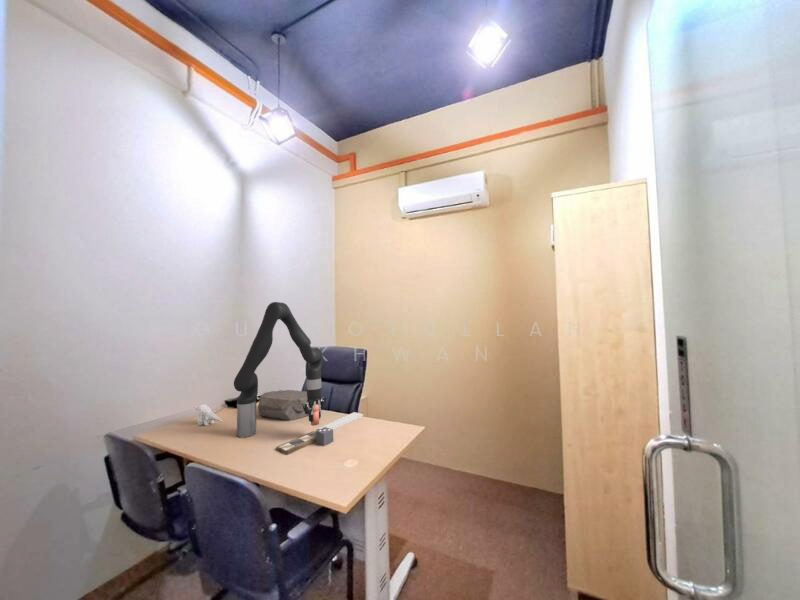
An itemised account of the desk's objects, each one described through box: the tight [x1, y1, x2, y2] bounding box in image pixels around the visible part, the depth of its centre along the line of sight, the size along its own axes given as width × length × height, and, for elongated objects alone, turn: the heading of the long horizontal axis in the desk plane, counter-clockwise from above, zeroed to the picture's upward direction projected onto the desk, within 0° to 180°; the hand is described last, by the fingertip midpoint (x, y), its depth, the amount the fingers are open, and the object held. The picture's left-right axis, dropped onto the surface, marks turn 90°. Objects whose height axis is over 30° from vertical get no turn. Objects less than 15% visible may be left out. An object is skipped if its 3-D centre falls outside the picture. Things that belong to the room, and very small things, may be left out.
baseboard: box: [315, 410, 364, 431], centre depth 178 cm, size 30×3×10 cm
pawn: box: [310, 404, 320, 426], centre depth 158 cm, size 5×5×11 cm
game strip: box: [276, 430, 317, 456], centre depth 151 cm, size 9×22×2 cm, turn 145°
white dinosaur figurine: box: [193, 403, 224, 427], centre depth 179 cm, size 7×24×11 cm, turn 70°
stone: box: [257, 389, 309, 421], centre depth 195 cm, size 37×26×15 cm
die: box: [315, 427, 334, 447], centre depth 151 cm, size 6×6×6 cm
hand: (314, 420), depth 158 cm, fingers closed on pawn, 4 cm apart
